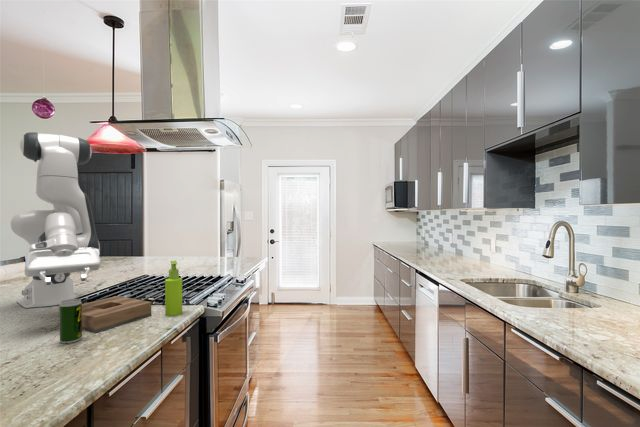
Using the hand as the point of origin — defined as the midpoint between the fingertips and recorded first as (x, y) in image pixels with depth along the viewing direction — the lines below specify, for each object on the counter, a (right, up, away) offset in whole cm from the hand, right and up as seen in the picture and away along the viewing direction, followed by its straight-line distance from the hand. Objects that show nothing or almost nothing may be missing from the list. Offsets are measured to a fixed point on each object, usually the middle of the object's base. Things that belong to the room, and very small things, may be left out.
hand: (66, 281), depth 109 cm
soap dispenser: (+27, -16, +18) cm, 36 cm away
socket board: (+6, -16, +12) cm, 21 cm away
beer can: (+7, -16, -8) cm, 19 cm away
